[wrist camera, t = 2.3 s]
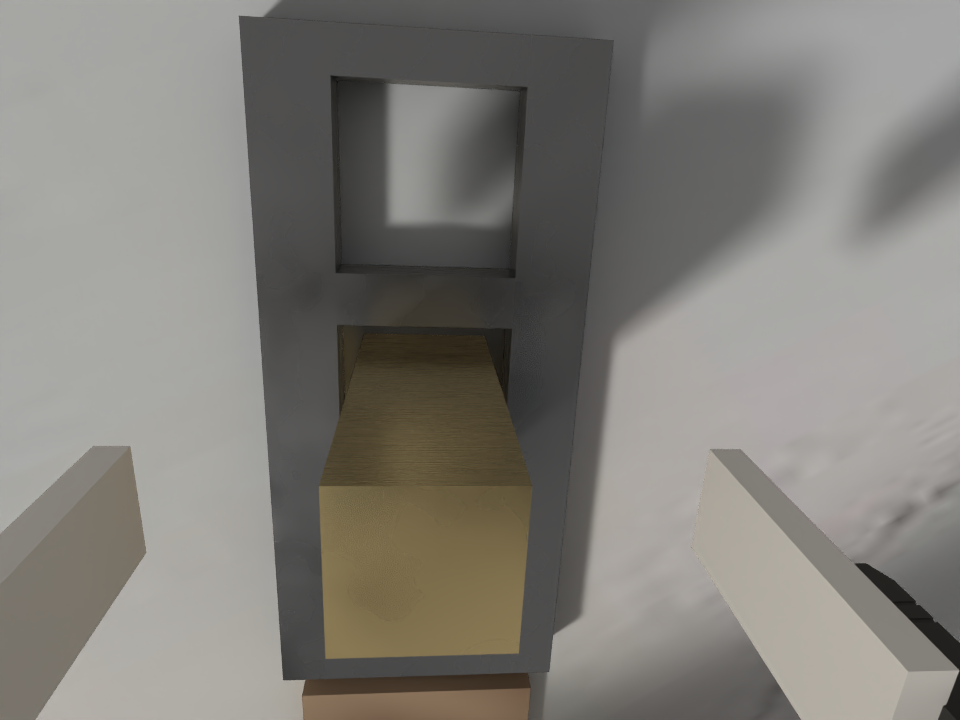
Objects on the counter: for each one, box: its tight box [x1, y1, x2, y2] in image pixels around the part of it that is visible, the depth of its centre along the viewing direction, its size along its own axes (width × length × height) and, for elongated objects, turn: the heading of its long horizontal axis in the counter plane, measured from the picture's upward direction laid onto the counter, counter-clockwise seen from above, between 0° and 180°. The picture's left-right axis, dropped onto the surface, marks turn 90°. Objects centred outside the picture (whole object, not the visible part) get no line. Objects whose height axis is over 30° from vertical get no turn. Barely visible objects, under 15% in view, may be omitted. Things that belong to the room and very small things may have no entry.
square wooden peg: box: [319, 333, 532, 659], centre depth 17 cm, size 4×4×10 cm
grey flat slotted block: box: [239, 16, 614, 680], centre depth 21 cm, size 22×10×2 cm, turn 177°
